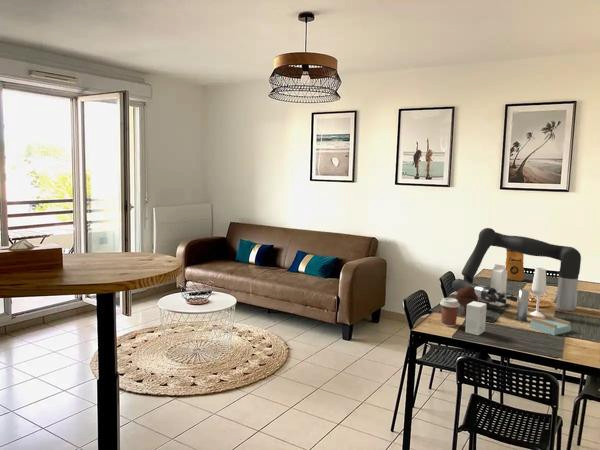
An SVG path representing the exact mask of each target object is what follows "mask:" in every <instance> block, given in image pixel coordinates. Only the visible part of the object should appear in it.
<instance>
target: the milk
mask: <svg viewBox="0 0 600 450" xmlns="http://www.w3.org/2000/svg"><path fill="white" fill-rule="evenodd" d="M505 268H506V265H502V264H495V263H494V266H493V268H492V269H491V273H490V274H491V275H490V286H489V287H491V288H494V289H495V290H496V291H497V292H500V293H502V292H504V293H507V283H508V279H507V270H506V269H505ZM503 299H505V298H503ZM488 304H490V305H493V306H495V307H496V306H497V307H502V306H506V304H503V303H500V302H495V303H494V302H488Z"/></svg>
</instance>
